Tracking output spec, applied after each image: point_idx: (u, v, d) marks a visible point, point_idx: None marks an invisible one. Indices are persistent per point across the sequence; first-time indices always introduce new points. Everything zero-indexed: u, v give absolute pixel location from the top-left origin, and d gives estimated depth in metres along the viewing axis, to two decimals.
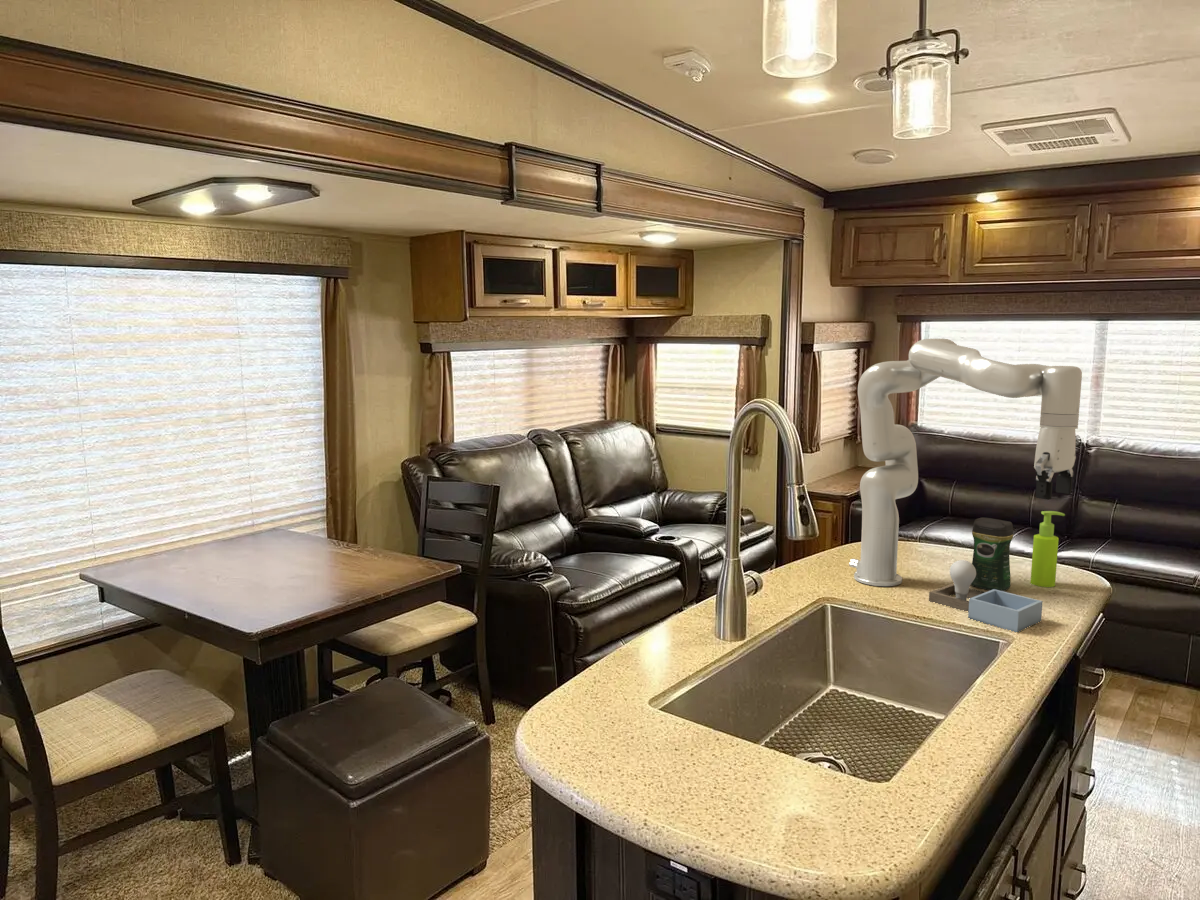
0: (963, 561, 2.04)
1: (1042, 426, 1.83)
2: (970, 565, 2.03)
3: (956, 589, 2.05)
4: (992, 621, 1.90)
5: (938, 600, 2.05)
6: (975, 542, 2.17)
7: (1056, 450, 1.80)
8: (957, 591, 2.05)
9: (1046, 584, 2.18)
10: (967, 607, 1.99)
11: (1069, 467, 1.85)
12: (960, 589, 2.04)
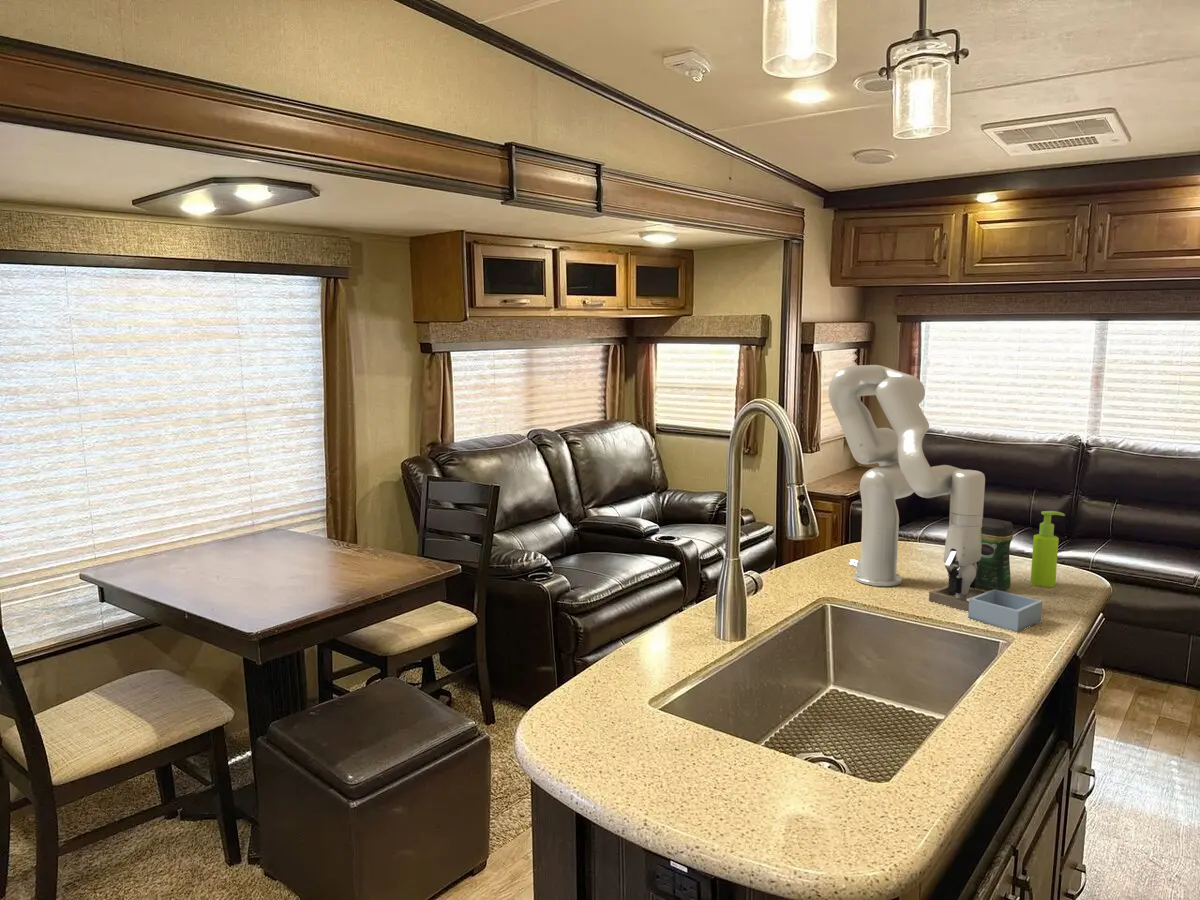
0: None
1: (950, 524, 2.03)
2: (970, 565, 2.03)
3: None
4: (992, 621, 1.90)
5: (938, 600, 2.05)
6: None
7: (962, 547, 2.00)
8: None
9: (1046, 584, 2.18)
10: (967, 607, 1.99)
11: (975, 561, 2.04)
12: None
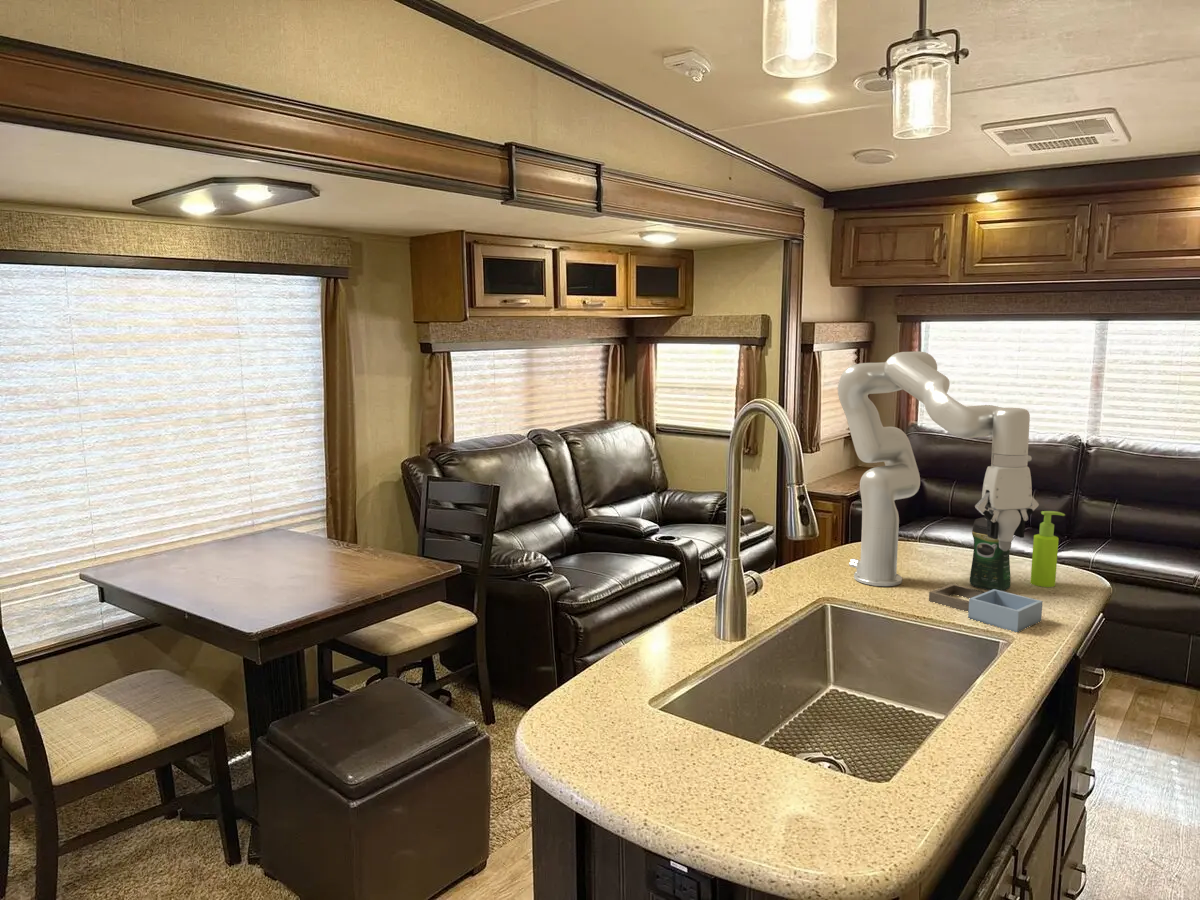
0: None
1: (991, 465, 1.91)
2: (1011, 510, 1.89)
3: (998, 535, 1.92)
4: (992, 621, 1.90)
5: (938, 600, 2.05)
6: (975, 542, 2.17)
7: (994, 488, 1.88)
8: (998, 537, 1.92)
9: (1046, 584, 2.18)
10: (967, 607, 1.99)
11: (1021, 507, 1.89)
12: (1000, 535, 1.91)
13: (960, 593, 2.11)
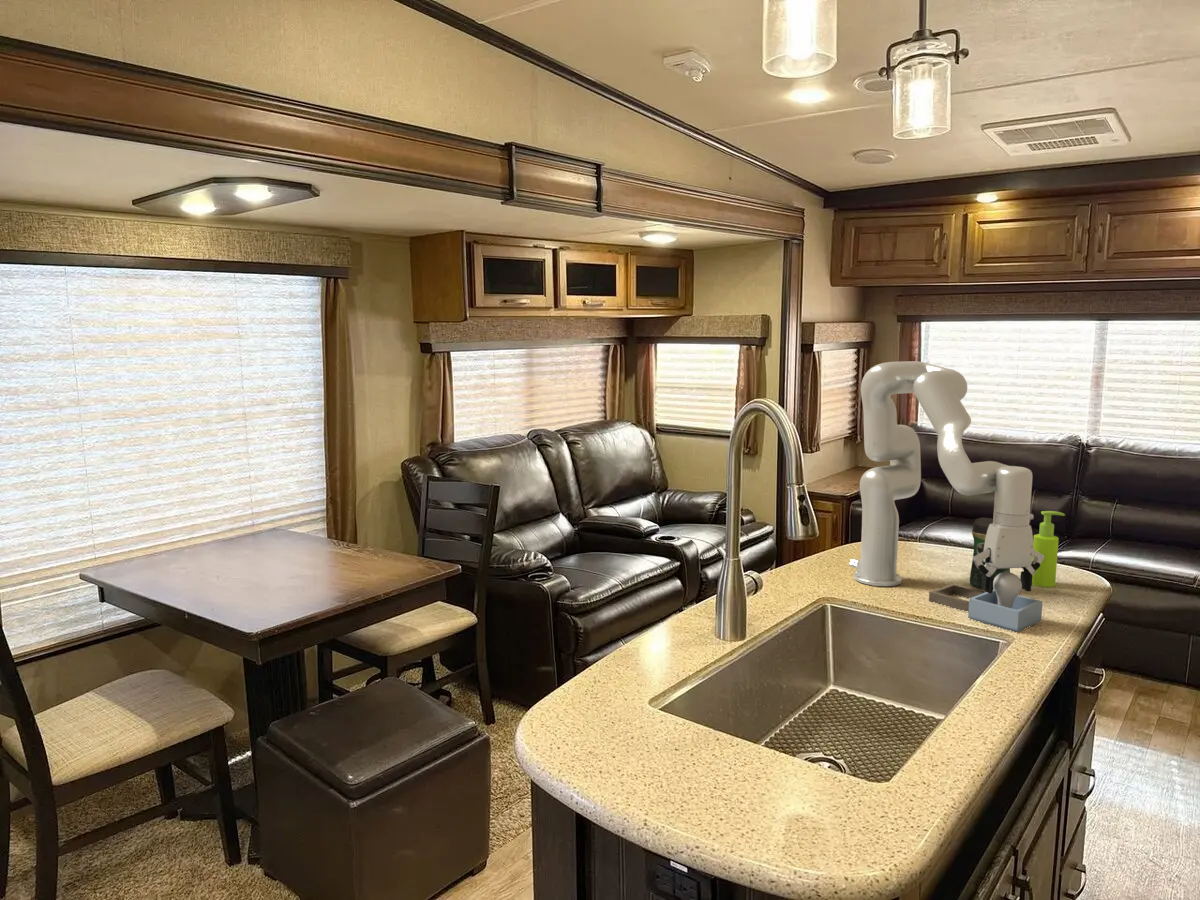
0: (1007, 573, 1.92)
1: (993, 522, 1.92)
2: (1013, 578, 1.90)
3: (998, 602, 1.93)
4: (992, 621, 1.90)
5: (938, 600, 2.05)
6: (975, 542, 2.17)
7: (996, 547, 1.88)
8: (998, 604, 1.93)
9: (1046, 584, 2.18)
10: (967, 607, 1.99)
11: (1022, 565, 1.90)
12: (1000, 602, 1.92)
13: (960, 593, 2.11)
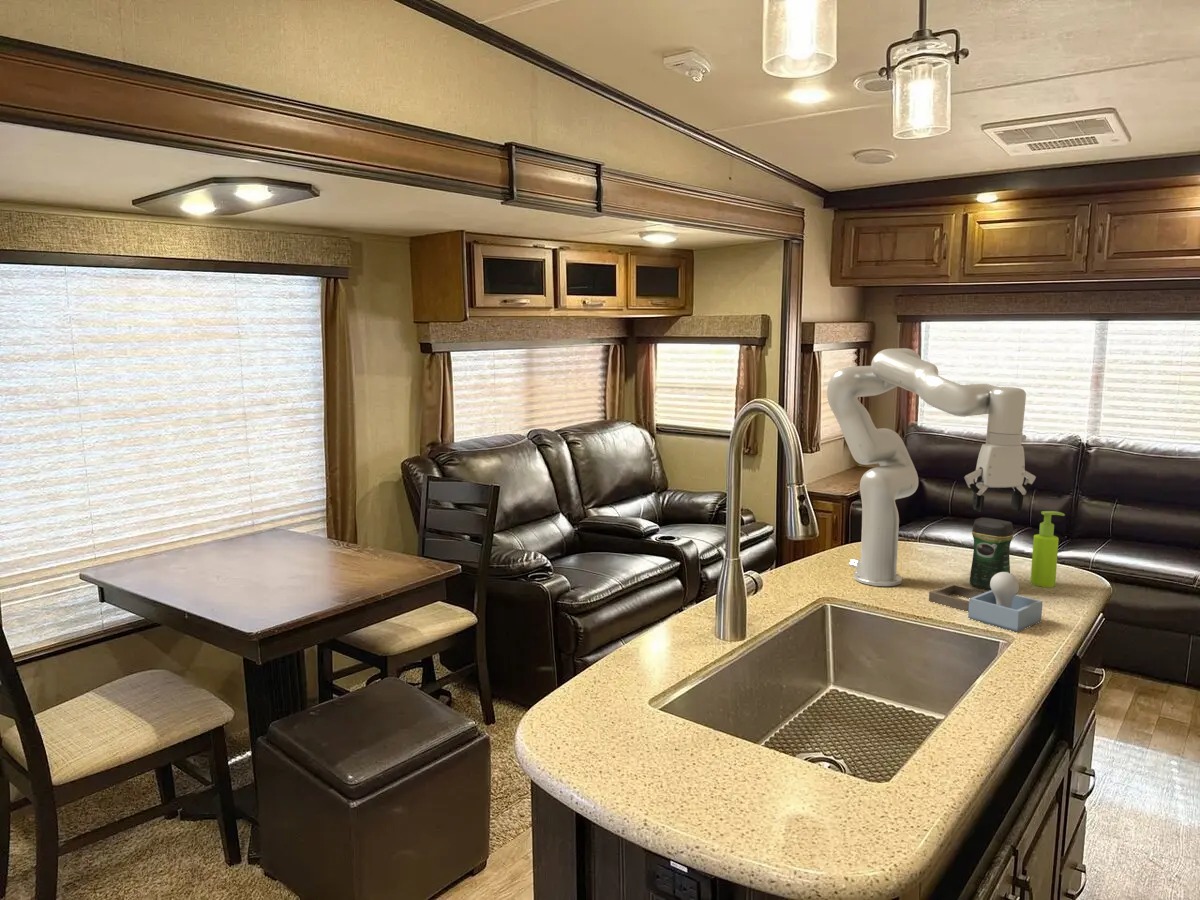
0: (1003, 573, 1.92)
1: None
2: (1009, 578, 1.90)
3: (996, 602, 1.93)
4: (992, 621, 1.90)
5: (938, 600, 2.05)
6: (975, 542, 2.17)
7: (987, 466, 1.91)
8: (997, 604, 1.93)
9: (1046, 584, 2.18)
10: (967, 607, 1.99)
11: (1013, 485, 1.93)
12: (999, 602, 1.92)
13: (960, 593, 2.11)
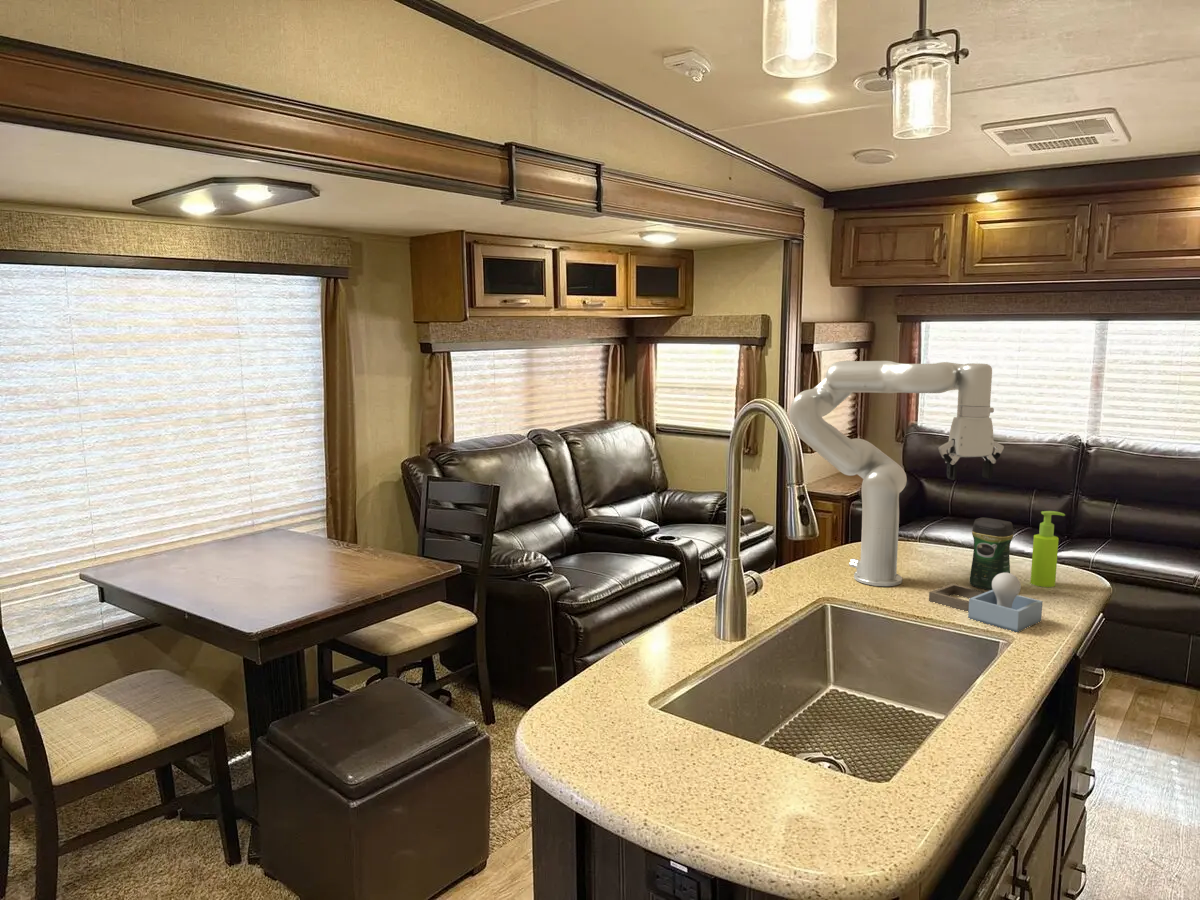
0: (1005, 574, 1.91)
1: None
2: (1011, 579, 1.90)
3: (997, 602, 1.93)
4: (992, 621, 1.90)
5: (938, 600, 2.05)
6: (975, 542, 2.17)
7: (959, 437, 2.06)
8: (998, 604, 1.93)
9: (1046, 584, 2.18)
10: (967, 607, 1.99)
11: (983, 454, 2.07)
12: (1000, 603, 1.92)
13: (960, 593, 2.11)
